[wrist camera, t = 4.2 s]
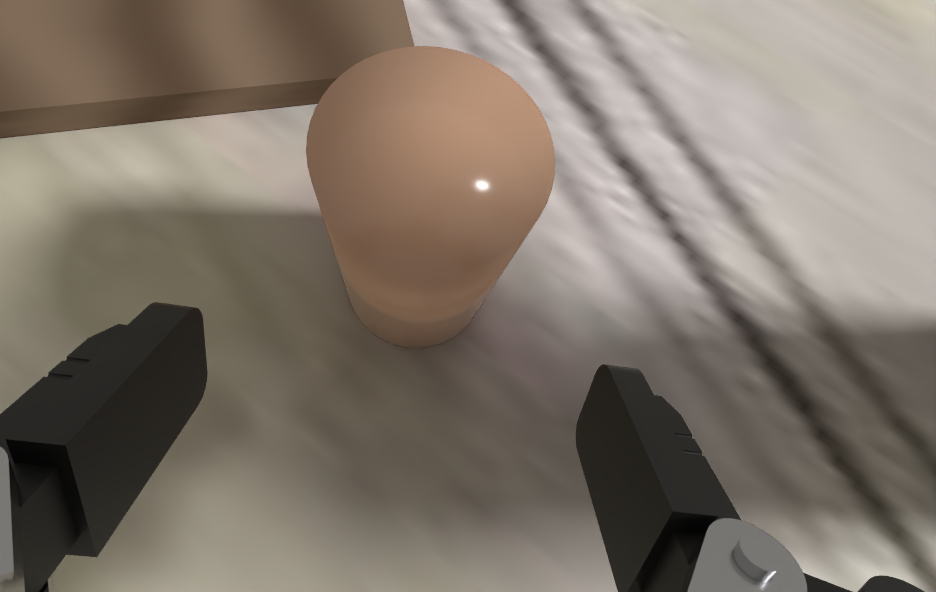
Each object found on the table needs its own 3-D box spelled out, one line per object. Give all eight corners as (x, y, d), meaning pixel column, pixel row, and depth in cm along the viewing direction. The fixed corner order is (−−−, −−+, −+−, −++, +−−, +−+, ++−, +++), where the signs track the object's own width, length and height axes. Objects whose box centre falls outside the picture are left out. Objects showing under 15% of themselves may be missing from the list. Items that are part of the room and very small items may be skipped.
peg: (465, 210, 22) (520, 36, 12) (496, 332, 21) (584, 243, 11) (336, 230, 21) (288, 58, 11) (361, 360, 20) (329, 289, 10)
